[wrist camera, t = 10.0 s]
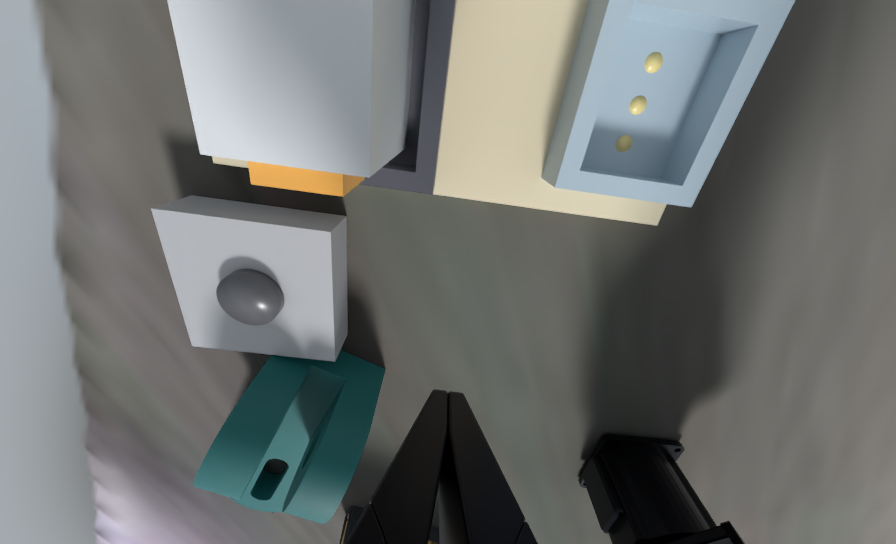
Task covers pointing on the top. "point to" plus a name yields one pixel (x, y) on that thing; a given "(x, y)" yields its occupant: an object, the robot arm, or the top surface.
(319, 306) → the grey knob block
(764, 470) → the top surface
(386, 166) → the frame
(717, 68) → the header 3pin
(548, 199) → the board
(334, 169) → the plug
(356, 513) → the ammunition clip
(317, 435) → the bracket
